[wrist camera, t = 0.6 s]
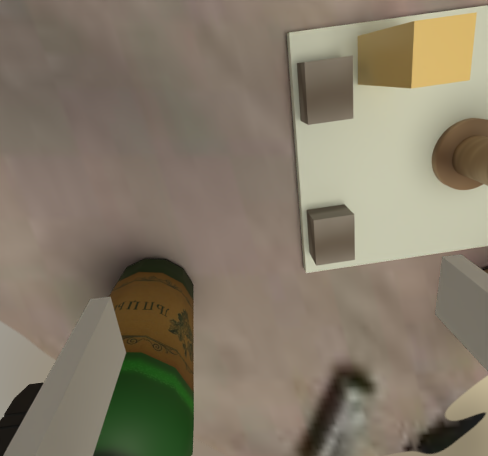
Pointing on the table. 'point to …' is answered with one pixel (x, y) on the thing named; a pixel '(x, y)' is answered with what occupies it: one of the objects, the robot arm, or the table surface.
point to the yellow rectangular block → (418, 53)
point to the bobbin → (462, 155)
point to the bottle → (152, 364)
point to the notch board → (320, 111)
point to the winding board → (389, 152)
